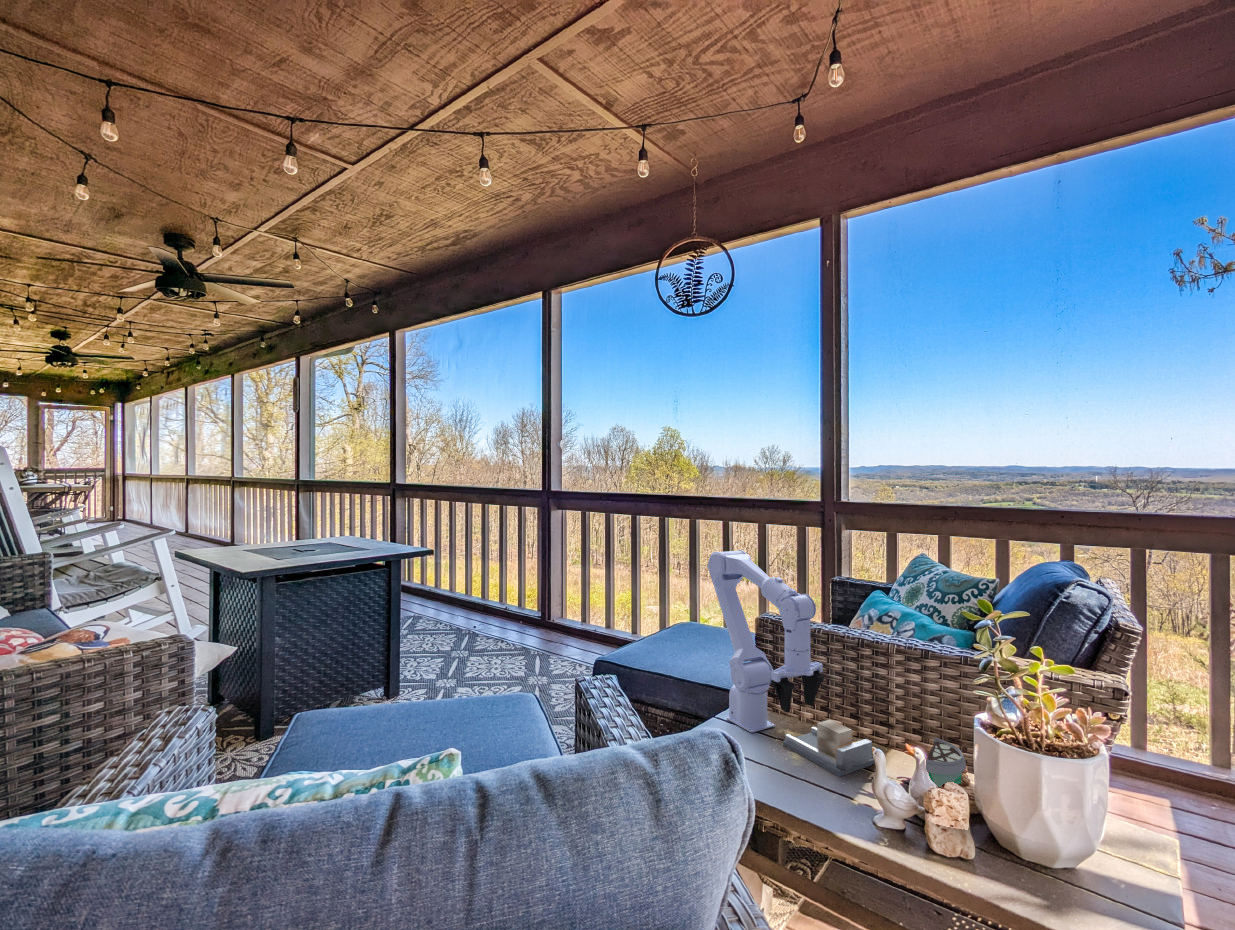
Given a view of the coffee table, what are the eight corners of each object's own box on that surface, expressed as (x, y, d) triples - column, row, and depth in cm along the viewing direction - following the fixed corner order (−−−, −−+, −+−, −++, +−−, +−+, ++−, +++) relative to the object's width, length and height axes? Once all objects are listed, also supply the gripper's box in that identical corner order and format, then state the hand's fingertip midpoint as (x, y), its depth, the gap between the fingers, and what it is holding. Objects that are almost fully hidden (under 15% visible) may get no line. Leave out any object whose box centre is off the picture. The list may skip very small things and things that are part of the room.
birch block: (817, 749, 128) (817, 722, 128) (829, 745, 130) (829, 719, 130) (839, 761, 123) (839, 733, 123) (851, 757, 125) (851, 729, 125)
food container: (962, 827, 102) (962, 770, 102) (924, 814, 105) (923, 759, 106) (970, 796, 111) (969, 745, 112) (934, 786, 115) (934, 736, 115)
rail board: (783, 745, 133) (783, 723, 133) (816, 735, 138) (816, 714, 138) (839, 776, 119) (839, 752, 119) (874, 764, 124) (874, 740, 124)
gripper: (787, 657, 124) (787, 720, 124) (833, 648, 131) (833, 707, 131) (764, 648, 130) (764, 708, 130) (809, 640, 137) (809, 697, 137)
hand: (797, 707), depth 131 cm, fingers open, 7 cm apart
